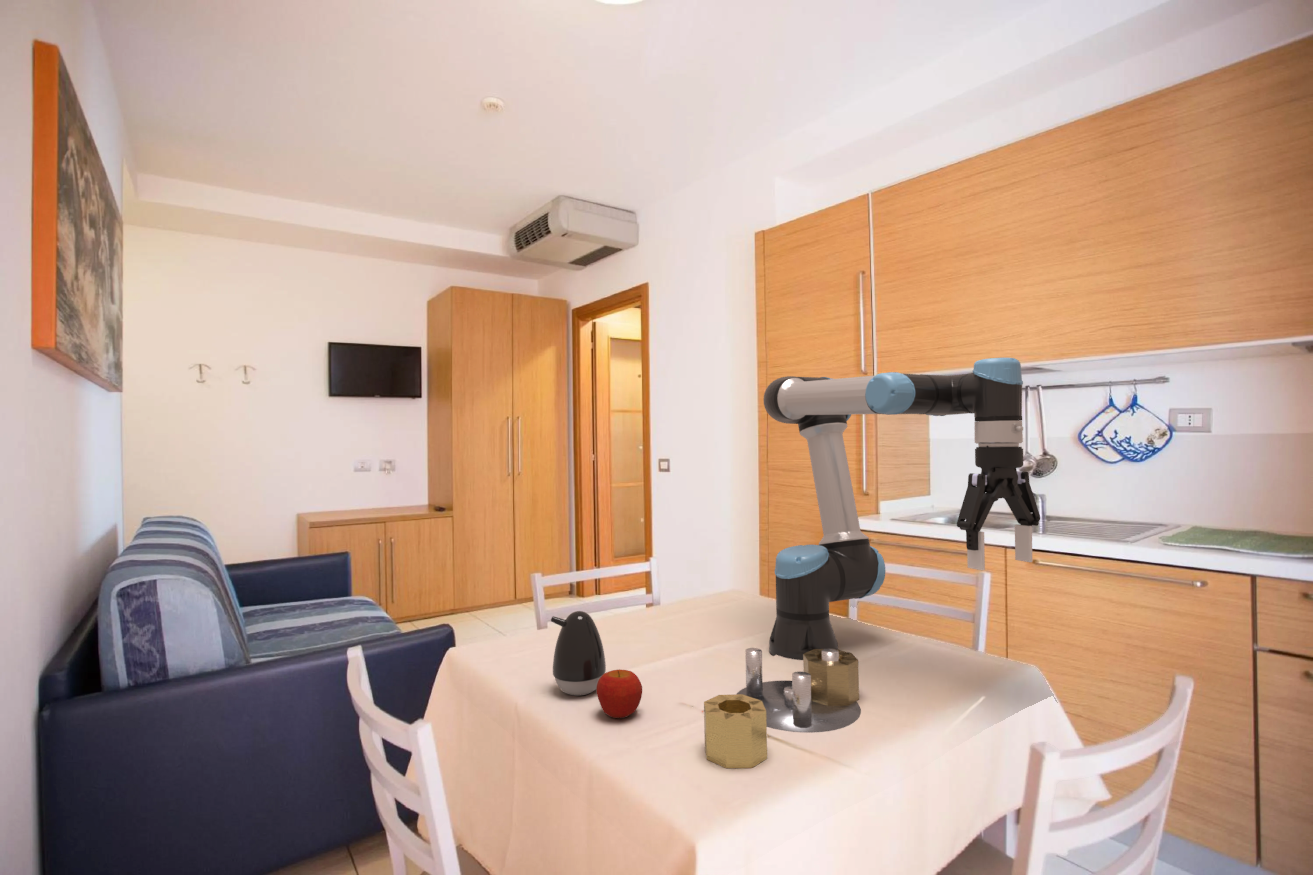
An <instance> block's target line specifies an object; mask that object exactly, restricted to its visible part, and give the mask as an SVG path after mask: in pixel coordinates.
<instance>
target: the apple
mask: <svg viewBox="0 0 1313 875" xmlns="http://www.w3.org/2000/svg"><path fill="white" fill-rule="evenodd" d="M640 680H641V679H639V677H638V675H636V673H634V672H633V671H631V670H629V669H628V670H627V669H620V668H619V669H614V670H610V671H607V672H605V673H604V674H603V675H602V677H601V678H600V679H599V681H598V683H597V687H596V688H597V689H596V696H597V700H598V702H599V705H600V707H601V709H602V710H603V713H604V714H606V715H607V716H609V717H610V718H613V719H623V718H627V717H629V716H630V715H632V714H635V712H637V709H638V708H639V705H640V703H641V700H642V698H643V697H642V696H643V685H642V683H641V681H640Z"/></svg>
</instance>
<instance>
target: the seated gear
mask: <svg viewBox="0 0 1313 875" xmlns="http://www.w3.org/2000/svg"><path fill="white" fill-rule="evenodd" d="M822 650H823V649H813V650H811V651H809V652H806V653H804V654H803V660H802V661H803V664H802V665H803V666H802V667H803V672H807V673H809V674H810V675H811V701H814V702H817V703H820V704H823V705H827V706H849V705H851V704H852V703H854V702H855V701H856V702H857V701H859V700H860V686H859V685H860V684H859V682H860V681H859V676H860V675H859V659H858V658H857V657H856V656H855V655H854V654H853V653H852V652H848V651H844V650H840V649H838V650H837V651H838V652H839V661H831V662H828V661H824V660H822ZM834 650H836V649H834Z"/></svg>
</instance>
